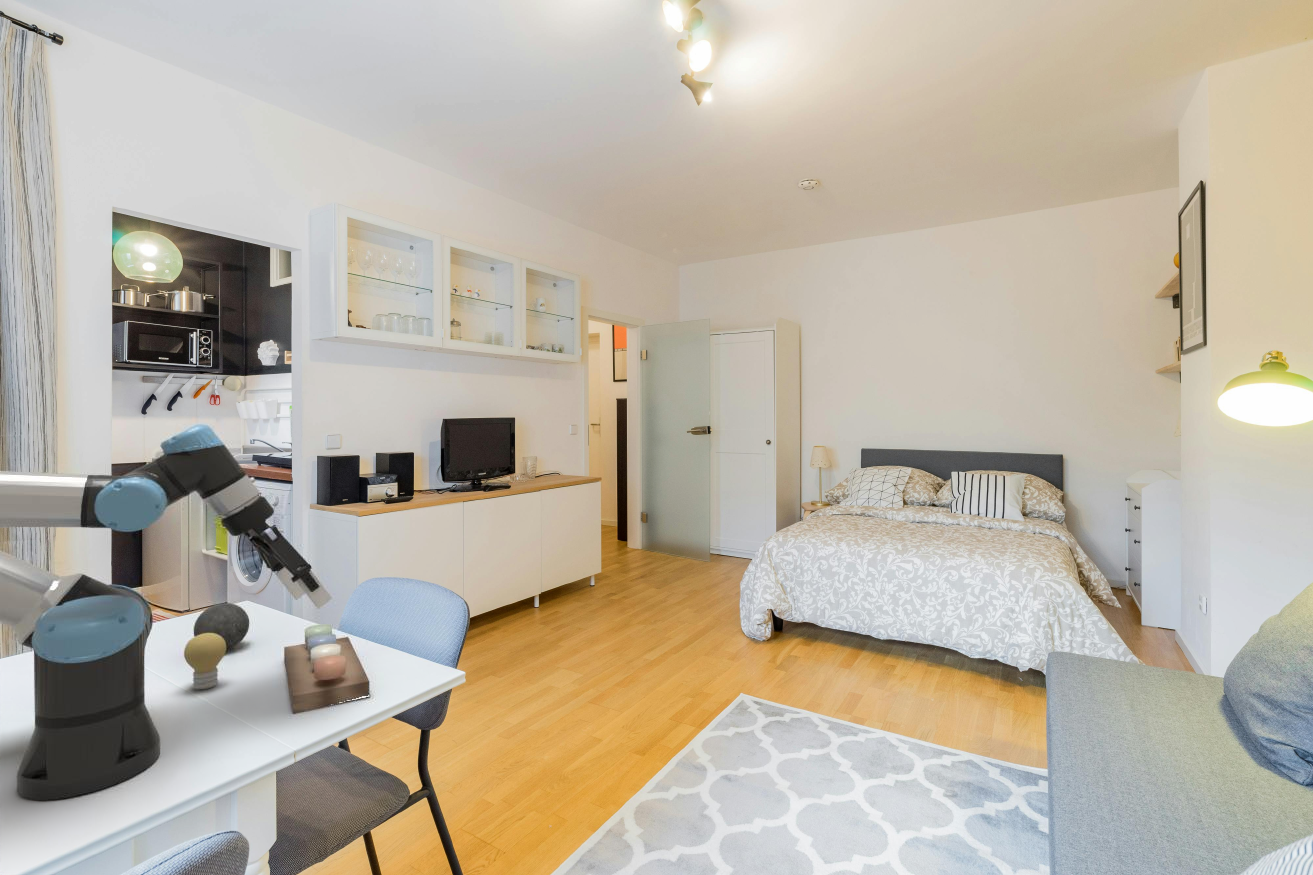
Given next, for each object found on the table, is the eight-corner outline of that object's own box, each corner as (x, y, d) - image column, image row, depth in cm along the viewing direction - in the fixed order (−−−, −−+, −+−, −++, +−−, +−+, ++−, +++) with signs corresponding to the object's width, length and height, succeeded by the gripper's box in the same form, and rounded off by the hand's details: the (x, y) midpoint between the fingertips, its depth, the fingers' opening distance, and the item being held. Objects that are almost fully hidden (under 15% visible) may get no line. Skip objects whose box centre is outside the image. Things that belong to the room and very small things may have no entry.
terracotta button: (315, 681, 110) (315, 667, 110) (312, 672, 115) (312, 658, 115) (347, 675, 113) (347, 661, 113) (343, 666, 117) (343, 652, 117)
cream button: (312, 668, 116) (311, 654, 116) (309, 660, 120) (309, 646, 120) (342, 663, 119) (342, 649, 119) (338, 655, 123) (338, 641, 123)
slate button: (308, 656, 122) (308, 643, 122) (306, 649, 126) (306, 636, 126) (337, 652, 125) (337, 638, 125) (334, 644, 129) (334, 631, 129)
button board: (292, 713, 108) (292, 695, 108) (284, 661, 131) (284, 646, 131) (369, 697, 114) (369, 680, 114) (348, 650, 138) (348, 636, 138)
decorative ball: (199, 645, 140) (199, 600, 140) (252, 639, 144) (252, 595, 144) (188, 660, 131) (188, 612, 131) (245, 653, 135) (245, 607, 135)
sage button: (305, 646, 128) (305, 633, 128) (303, 639, 132) (303, 626, 132) (333, 641, 131) (333, 629, 131) (330, 634, 135) (330, 622, 135)
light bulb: (177, 689, 117) (176, 635, 117) (214, 677, 123) (214, 626, 122) (196, 696, 114) (195, 641, 114) (233, 684, 120) (233, 631, 119)
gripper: (280, 493, 104) (354, 592, 111) (245, 494, 122) (311, 579, 129) (234, 521, 99) (315, 622, 106) (205, 517, 117) (276, 604, 124)
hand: (313, 599), depth 118 cm, fingers open, 13 cm apart
